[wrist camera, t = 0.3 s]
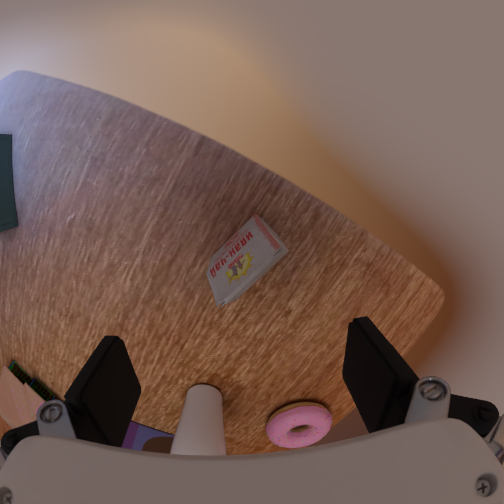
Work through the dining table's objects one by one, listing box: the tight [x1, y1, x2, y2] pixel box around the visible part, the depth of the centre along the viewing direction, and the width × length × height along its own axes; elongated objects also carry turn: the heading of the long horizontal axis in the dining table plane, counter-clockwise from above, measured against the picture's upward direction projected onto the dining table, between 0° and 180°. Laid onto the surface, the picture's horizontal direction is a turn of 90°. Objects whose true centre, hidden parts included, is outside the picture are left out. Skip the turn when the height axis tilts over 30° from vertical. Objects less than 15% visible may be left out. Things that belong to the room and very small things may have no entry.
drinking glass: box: [170, 384, 226, 456], centre depth 29 cm, size 7×7×15 cm
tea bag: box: [206, 213, 289, 308], centre depth 25 cm, size 4×7×10 cm, turn 134°
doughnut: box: [266, 402, 332, 449], centre depth 36 cm, size 11×11×4 cm
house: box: [0, 361, 55, 429], centre depth 34 cm, size 23×33×8 cm
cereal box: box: [122, 421, 175, 454], centre depth 28 cm, size 17×5×24 cm, turn 69°
